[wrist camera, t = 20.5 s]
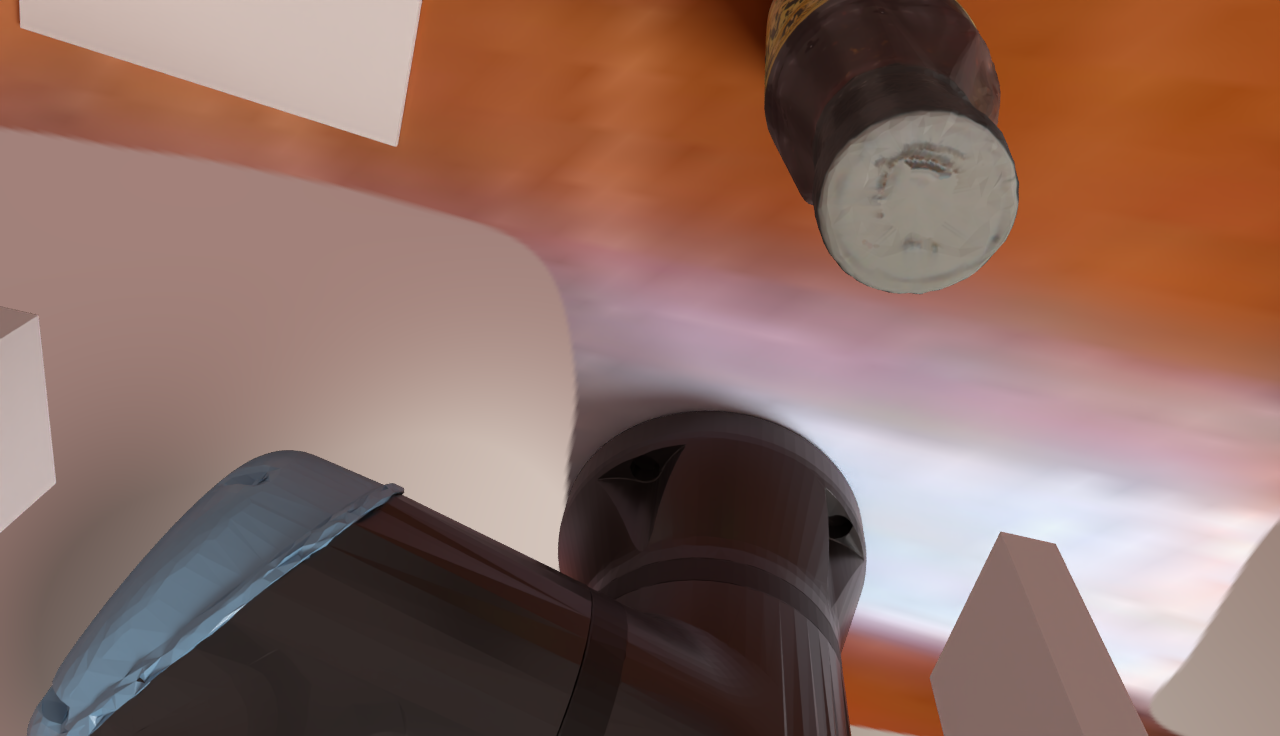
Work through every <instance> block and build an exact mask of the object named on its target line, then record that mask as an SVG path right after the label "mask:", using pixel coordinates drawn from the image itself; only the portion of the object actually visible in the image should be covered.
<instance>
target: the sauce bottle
mask: <svg viewBox="0 0 1280 736" xmlns="http://www.w3.org/2000/svg"><path fill="white" fill-rule="evenodd" d="M999 107H1000V85H999V81H998V77H997V73H996V71H995V66H994V63H993V62H992V60H991V56H990V52H989V49H988V47H987V45H986V43H985V41H984V40H983V39H982V37H981V36H980V34H979V32H978V30H977V29H976V27H975V25H974V23H973V21H972V20H971V18H970V17H969V15H968V14H967V12H966V11H965V10H964V8H963V7H962V6H961V5H960V4H959V3H958V2H957V1H956V0H773V2H772V4H771V7H770V9H769V14H768V20H767V30H766V56H765V108H764V109H765V117H766V122H767V127H768V130H769V132H770V135H771V137H772V139H773V141H774V143H775V145H776V147H777V149H778V151H779V153H780V155H781V157H782V159H783V161H784V163H785V165H786V167H787V169H788V171H789V173H790V175H791V176H792V178H793V180H794V182H795V184H796V186H797V188H798V190H799V192H800V194H801V196H802V197H803V199H804V200H805V201H806V202H807V203H808V204H811V205H813V206H814V210H815V218H816V220H817V224H818V228H819V231H820V233H821V236H822V239H823V242H824V244H825V246H826V248H827V250H828V252H829V254H830V255H831V256H832V257H833V258H834V260H835V261H836V262H837V263H838V265H839V266H840V267H841V269H842V270H843V271H844V272H845V273H846V274H848V275H850V276H852V277H854V278H855V279H856V280H857V281H859V282H861V283H863V284H865V285H867V286H869V287H872V288H875V289H878V290H882V291H886V292H891V293H899V294H900V293H913V294H923V293H926V292H929V291H935V290H940V289H943V288H945V287H948V286H951V285H953V284H955V283H957V282H960V281H962V280H964V279H966V278H968V277H969V276H971V275H972V274H974V273H975V272H976V271H978V270H979V269H980V268H981V267H982V266H983V265H984V264H985V263H986V262H987V261H988V260H989V259H990V257H991V256H992V255H993V254H994V253H995V252H996V251H997V249H998V248H999V247H1000V246H1001V245H1002V244H1003V243H1004V242H1005V241H1006V239H1007V237H1008V235H1009V233H1010V230H1011V228H1012V226H1013V224H1014V221H1015V218H1016V214H1017V209H1018V201H1019V193H1018V190H1019V181H1018V177H1017V174H1016V170H1015V163H1014V160H1013V158H1012V156H1011V153H1010V151H1009V148H1008V145H1007V143H1006V141H1005V138H1004V136H1003V134H1002V132H1001V131H1000V130H999V128H998V127H997V123H998V115H999Z"/></svg>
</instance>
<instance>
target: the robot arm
mask: <svg viewBox="0 0 1280 736" xmlns="http://www.w3.org/2000/svg"><path fill="white" fill-rule="evenodd" d="M54 484H56V478H55V468H54V458H53V449H52V439H51V430H50V420H49V410H48V402H47V391H46V381H45V371H44V362H43V352H42V343H41V333H40V324H39V315H36V314H32V313H27V312H23V311H18V310H13V309H9V308H5V307H0V532H2V531H3V530H4V529H5V528H6V527H7V526H8V525H9V524H10V523H12V522H13V521H14V520H15V519H16V518H17V517H18V516H20V515H21V514H22V513H23V512H24V511H25V510H26V509H27V508H28V507H30V506H31V505H32V504H33V503H34V502H35V501H36V500H38V499H39V498H40V497H41V496H42V495H43V494H44V493H45V492H47V491H48V490H49V489H50V488H51V487H52V486H53V485H54ZM403 493H404V488H402V487H400V486H398V485H396V484H393V483H391V484H386V485H383V484H380V483H378V482H376V481H373V480H371V479H369V478H366V477H364V476H362V475H359V474H357V473H355V472H352V471H350V470H348V469H345V468H343V467H341V466H338V465H336V464H334V463H331V462H329V461H327V460H324V459H322V458H320V457H317V456H315V455H312V454H309V453H306V452H301V451H293V450H284V451H276V452H271V453H268V454H264V455H262V456H259V457H257V458H254V459H252V460H251V461H249V462H247V463H245V464H243V465H242V466H240V467H239V468H237V469H236V470H234V471H233V472H231V473H230V474H229V475H227V476H226V477H225V478H224V479H222V480H221V481H220V482H219V483H218V484H216V485H215V486H214V487H213V488H212V489H211V490H210V491H208V492H207V493H206V494H205V495H204V496H203V497H202V498H201V499H200V500H198V501H197V502H196V503H195V504H194V505H193V507H191V508H190V509H189V510H188V511H187V512H186V513H185V514H184V515H183V516H182V517H181V518H180V519H179V520H178V521H177V522H176V523H175V524H174V525H173V526H172V528H170V530H169V531H168V532H167V533H166V534H165V535H164V536H163V537H162V538H161V539H160V540H159V541H158V543H157V544H156V545H155V546H154V547H153V548H152V549H151V550H150V552H149V553H148V554H147V555H146V556H145V557H144V558H143V559H142V560H141V562H140V563H139V564H138V565H137V566H136V568H135V569H134V570H133V571H132V572H131V573H130V575H129V576H128V577H127V578H126V579H125V581H124V582H123V583H122V584H121V585H120V587H119V588H118V589H117V590H116V591H115V593H114V594H113V595H112V597H111V598H110V599H109V600H108V601H107V602H106V604H105V605H104V606H103V608H102V609H101V610H100V612H99V613H98V614H97V616H96V617H95V618H94V619H93V621H92V622H91V623H90V625H89V626H88V627H87V629H86V630H85V631H84V633H83V634H82V635H81V637H80V638H79V639H78V641H77V642H76V644H75V645H74V646H73V648H72V649H71V651H70V652H69V654H68V655H67V657H66V658H65V660H64V661H63V663H62V664H61V666H60V667H59V669H58V671H57V673H56V675H55V677H54V679H53V685H52V686H51V687H50V689H49V690H48V692H47V693H46V695H45V696H44V698H43V699H42V700H41V702H40V703H39V704H38V706H37V707H36V709H35V711H34V713H33V715H32V717H31V719H30V721H29V724H28V729H27V736H851V731H850V723H849V716H848V708H847V701H846V693H845V686H844V678H843V672H842V663H841V652H842V649H843V646H844V643H845V640H846V637H847V634H848V631H849V628H850V625H851V622H852V619H853V616H854V613H855V610H856V607H857V604H858V601H859V598H860V595H861V592H862V589H863V585H864V580H865V573H866V545H865V538H864V532H863V526H862V520H861V515H860V510H859V507H858V504H857V501H856V498H855V496H854V494H853V491H852V490H851V488H850V486H849V484H848V482H847V481H846V479H845V478H844V476H843V475H842V473H841V472H840V471H839V469H838V468H837V467H836V466H835V465H834V463H833V462H832V461H831V460H830V459H829V458H828V457H827V456H826V455H825V454H824V453H823V452H821V451H820V450H819V449H818V448H816V447H815V446H814V445H813V444H811V443H810V442H808V441H807V440H805V439H804V438H802V437H801V436H799V435H797V434H796V433H794V432H792V431H790V430H788V429H786V428H784V427H781V426H779V425H777V424H774V423H772V422H769V421H766V420H763V419H759V418H756V417H752V416H748V415H743V414H737V413H730V412H720V411H694V412H684V413H677V414H672V415H667V416H663V417H659V418H655V419H652V420H649V421H646V422H644V423H641V424H639V425H636V426H634V427H632V428H630V429H628V430H626V431H624V432H623V433H621V434H619V435H618V436H616V437H615V438H613V439H612V440H610V441H609V442H608V443H606V444H605V445H604V446H603V447H602V448H600V449H599V450H598V451H597V452H596V453H595V454H594V455H593V456H592V457H591V458H590V460H589V461H588V462H587V463H586V464H585V466H584V467H583V469H582V470H581V471H580V473H579V475H578V476H577V478H576V480H575V482H574V484H573V486H572V489H571V491H570V494H569V497H568V501H567V504H566V508H565V512H564V515H563V519H562V523H561V526H560V532H559V542H558V559H559V568H560V572H559V571H557V570H555V569H552V568H551V567H549V566H547V565H544V564H542V563H540V562H538V561H536V560H534V559H532V558H530V557H528V556H526V555H524V554H522V553H520V552H518V551H516V550H514V549H512V548H510V547H508V546H506V545H504V544H502V543H500V542H497V541H495V540H493V539H491V538H489V537H487V536H485V535H483V534H481V533H479V532H477V531H475V530H473V529H471V528H469V527H467V526H465V525H463V524H461V523H459V522H457V521H454V520H452V519H450V518H448V517H446V516H444V515H442V514H440V513H438V512H436V511H434V510H432V509H430V508H428V507H426V506H424V505H422V504H420V503H418V502H416V501H414V500H412V499H409V498H407V497H405V496H403V495H402V494H403ZM930 680H931V684H932V688H933V692H934V697H935V701H936V705H937V709H938V713H939V717H940V721H941V725H942V729H943V733H944V736H1148V734H1147V732H1146V730H1145V728H1144V726H1143V724H1142V722H1141V719H1140V717H1139V715H1138V713H1137V711H1136V709H1135V707H1134V705H1133V703H1132V701H1131V699H1130V697H1129V695H1128V693H1127V691H1126V688H1125V686H1124V684H1123V682H1122V680H1121V678H1120V676H1119V674H1118V672H1117V670H1116V668H1115V666H1114V664H1113V662H1112V659H1111V657H1110V655H1109V653H1108V651H1107V649H1106V647H1105V645H1104V643H1103V641H1102V639H1101V637H1100V635H1099V633H1098V631H1097V628H1096V626H1095V624H1094V622H1093V620H1092V618H1091V616H1090V614H1089V612H1088V610H1087V608H1086V606H1085V604H1084V602H1083V600H1082V597H1081V595H1080V593H1079V591H1078V589H1077V587H1076V585H1075V583H1074V581H1073V579H1072V577H1071V575H1070V573H1069V571H1068V568H1067V566H1066V564H1065V562H1064V560H1063V558H1062V556H1061V554H1060V552H1059V550H1058V548H1057V546H1056V544H1053V543H1049V542H1045V541H1040V540H1036V539H1031V538H1027V537H1022V536H1018V535H1014V534H1009V533H1005V532H1000V534H999V536H998V538H997V540H996V542H995V544H994V546H993V548H992V550H991V552H990V554H989V556H988V558H987V560H986V563H985V565H984V567H983V569H982V571H981V573H980V575H979V577H978V579H977V581H976V583H975V585H974V587H973V589H972V591H971V593H970V595H969V597H968V600H967V602H966V604H965V606H964V608H963V610H962V612H961V614H960V616H959V618H958V620H957V622H956V624H955V626H954V628H953V630H952V632H951V634H950V637H949V639H948V641H947V643H946V645H945V647H944V649H943V651H942V653H941V655H940V657H939V659H938V661H937V663H936V665H935V667H934V669H933V671H932V674H931V676H930Z"/></svg>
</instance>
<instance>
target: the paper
mask: <svg viewBox="0 0 1280 736" xmlns="http://www.w3.org/2000/svg"><path fill="white" fill-rule="evenodd" d="M19 4H20V28H23V29H26V30H29V31H32V32H35V33H39V34H42V35H45V36H48V37H51V38H54V39H58V40H61V41H64V42H67V43H70V44H73V45H76V46H80V47H83V48H86V49H89V50H92V51H95V52H99V53H102V54H105V55H108V56H111V57H114V58H117V59H121V60H124V61H127V62H130V63H133V64H136V65H140V66H143V67H146V68H149V69H152V70H155V71H158V72H162V73H165V74H168V75H171V76H174V77H177V78H181V79H184V80H187V81H190V82H193V83H196V84H199V85H203V86H206V87H209V88H212V89H215V90H218V91H222V92H225V93H228V94H231V95H234V96H237V97H240V98H244V99H247V100H250V101H253V102H256V103H259V104H263V105H266V106H269V107H272V108H275V109H278V110H281V111H285V112H288V113H291V114H294V115H297V116H300V117H303V118H307V119H310V120H313V121H316V122H319V123H322V124H326V125H329V126H332V127H335V128H338V129H341V130H344V131H348V132H351V133H354V134H357V135H360V136H363V137H367V138H370V139H373V140H376V141H379V142H382V143H385V144H389V145H392V146H395V147H396V146H397V145H398V141H399V135H400V129H401V123H402V117H403V111H404V105H405V99H406V93H407V87H408V81H409V75H410V69H411V63H412V57H413V51H414V45H415V39H416V33H417V27H418V21H419V15H420V10H421V4H422V0H19Z"/></svg>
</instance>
